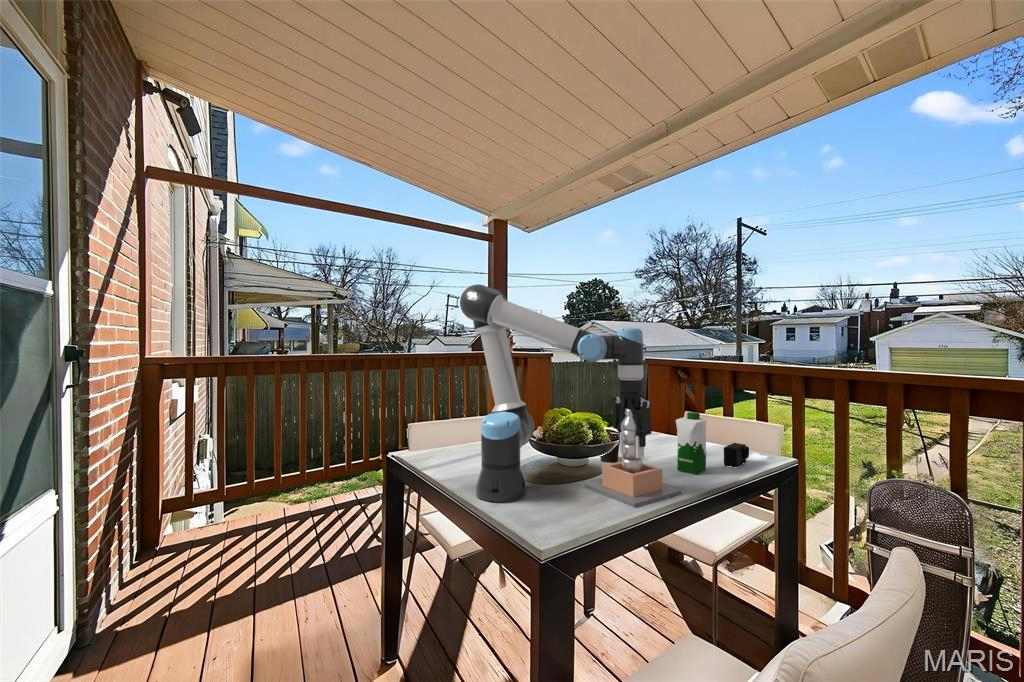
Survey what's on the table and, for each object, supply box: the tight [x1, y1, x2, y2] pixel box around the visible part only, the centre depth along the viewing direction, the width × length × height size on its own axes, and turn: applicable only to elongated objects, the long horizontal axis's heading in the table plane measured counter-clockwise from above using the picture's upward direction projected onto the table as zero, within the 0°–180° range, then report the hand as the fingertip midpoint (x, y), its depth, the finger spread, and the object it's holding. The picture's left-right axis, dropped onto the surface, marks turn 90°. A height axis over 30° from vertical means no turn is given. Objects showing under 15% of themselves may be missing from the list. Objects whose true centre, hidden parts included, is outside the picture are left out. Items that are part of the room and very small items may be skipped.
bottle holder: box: [584, 461, 682, 508], centre depth 130 cm, size 20×20×7 cm
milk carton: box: [675, 411, 707, 475], centre depth 150 cm, size 9×9×20 cm
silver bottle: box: [620, 408, 643, 474], centre depth 130 cm, size 6×7×20 cm
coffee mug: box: [599, 431, 620, 464], centre depth 165 cm, size 12×9×10 cm
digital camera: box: [723, 442, 750, 468], centre depth 157 cm, size 10×5×7 cm, turn 134°
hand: (631, 454), depth 130 cm, fingers closed on silver bottle, 6 cm apart
